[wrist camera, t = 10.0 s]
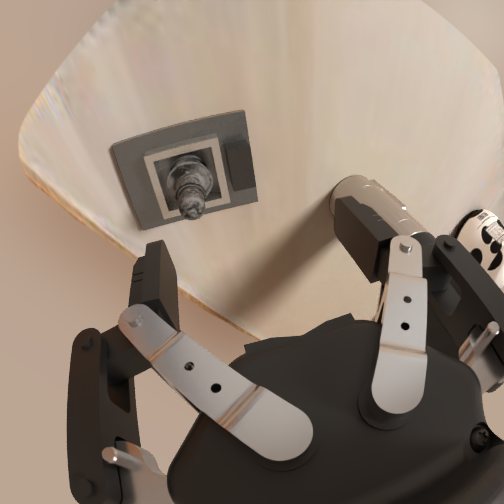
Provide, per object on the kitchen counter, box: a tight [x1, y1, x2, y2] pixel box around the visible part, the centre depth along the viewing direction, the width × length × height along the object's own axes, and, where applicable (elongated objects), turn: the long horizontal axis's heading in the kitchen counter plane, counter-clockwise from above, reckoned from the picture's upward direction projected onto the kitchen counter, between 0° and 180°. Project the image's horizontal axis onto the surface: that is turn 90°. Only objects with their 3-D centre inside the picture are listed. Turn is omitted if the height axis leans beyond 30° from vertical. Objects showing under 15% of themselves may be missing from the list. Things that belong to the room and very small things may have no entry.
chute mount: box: [112, 110, 258, 230], centre depth 37 cm, size 18×14×4 cm
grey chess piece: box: [167, 155, 213, 220], centre depth 33 cm, size 6×6×12 cm
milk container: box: [456, 209, 504, 289], centre depth 56 cm, size 17×17×18 cm
